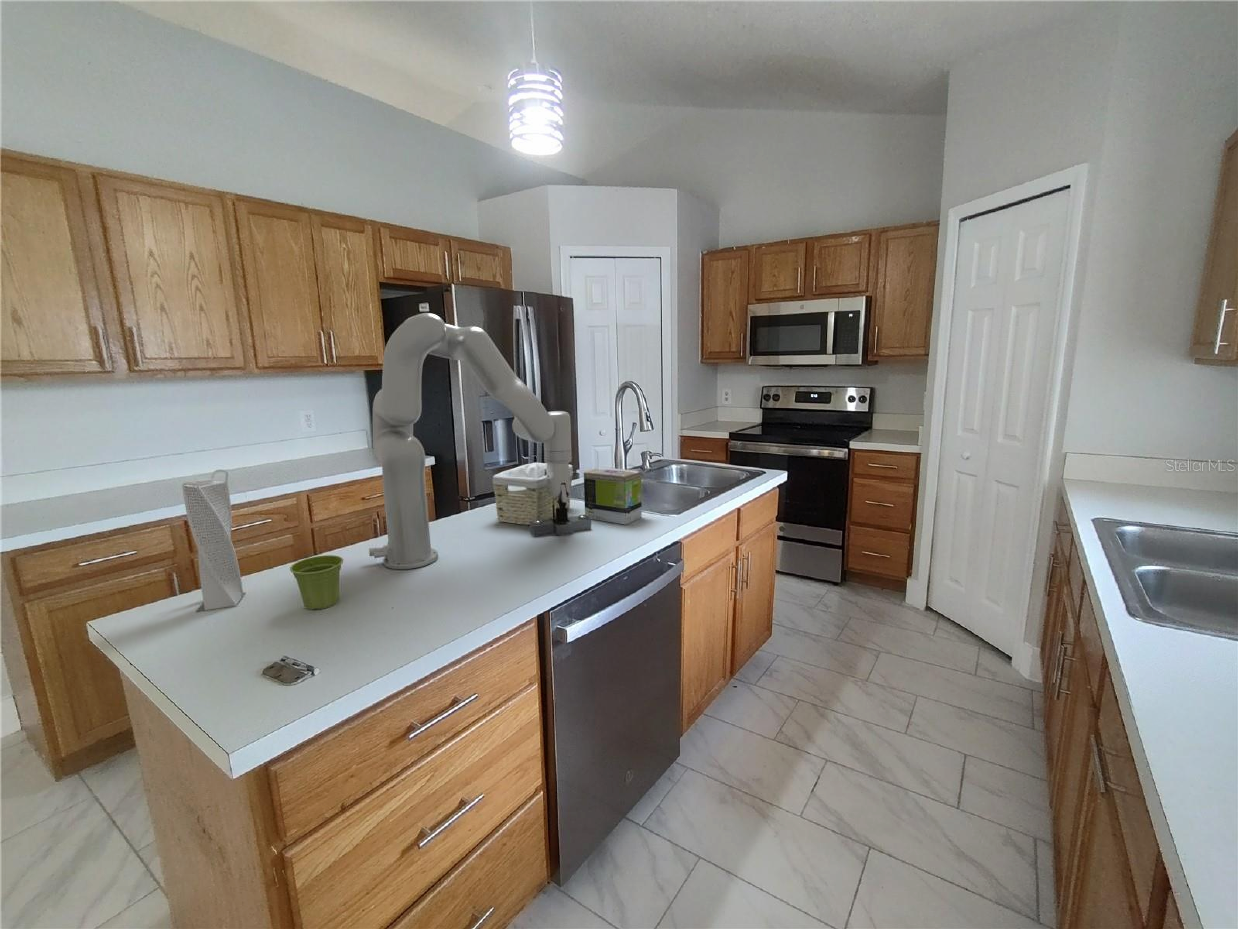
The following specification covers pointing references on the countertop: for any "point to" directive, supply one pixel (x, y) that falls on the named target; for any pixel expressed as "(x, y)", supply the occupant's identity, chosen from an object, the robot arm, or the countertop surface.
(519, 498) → the storage basket
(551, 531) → the grey metal bracket
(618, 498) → the tea box
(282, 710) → the countertop surface
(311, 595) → the plant pot
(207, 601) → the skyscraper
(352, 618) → the countertop surface
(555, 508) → the brass pin
